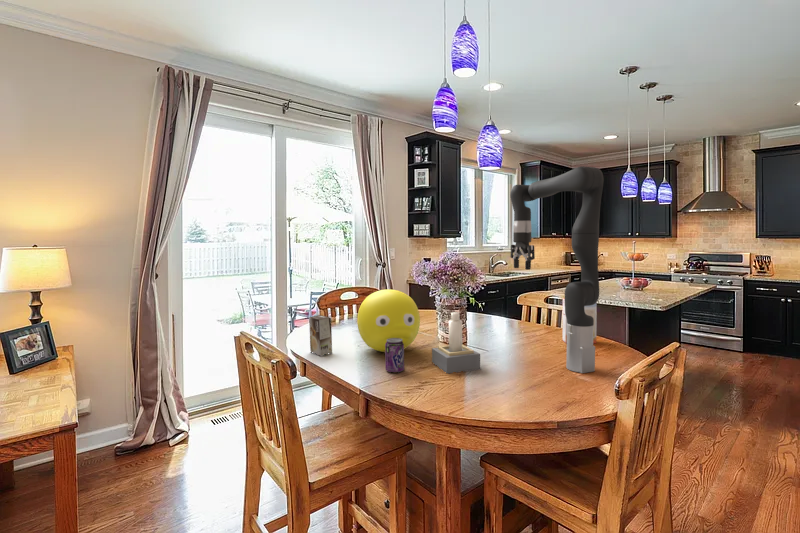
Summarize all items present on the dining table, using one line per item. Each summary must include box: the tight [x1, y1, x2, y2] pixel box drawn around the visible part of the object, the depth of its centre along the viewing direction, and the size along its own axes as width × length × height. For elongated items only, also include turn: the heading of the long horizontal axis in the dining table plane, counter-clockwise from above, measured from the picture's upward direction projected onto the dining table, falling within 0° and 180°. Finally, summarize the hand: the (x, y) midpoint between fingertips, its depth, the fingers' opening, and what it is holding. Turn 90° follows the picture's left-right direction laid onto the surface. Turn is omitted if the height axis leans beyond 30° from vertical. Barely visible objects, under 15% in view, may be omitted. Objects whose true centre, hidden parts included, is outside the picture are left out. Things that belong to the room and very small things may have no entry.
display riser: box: [431, 344, 481, 374], centre depth 165 cm, size 14×14×7 cm
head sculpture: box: [356, 288, 421, 353], centre depth 187 cm, size 28×28×28 cm
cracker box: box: [562, 297, 598, 344], centre depth 198 cm, size 14×6×21 cm, turn 84°
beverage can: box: [384, 338, 405, 373], centre depth 160 cm, size 7×7×12 cm
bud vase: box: [448, 311, 463, 352], centre depth 165 cm, size 5×5×15 cm
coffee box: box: [308, 314, 333, 356], centre depth 186 cm, size 9×6×16 cm
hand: (522, 268), depth 184 cm, fingers open, 8 cm apart
